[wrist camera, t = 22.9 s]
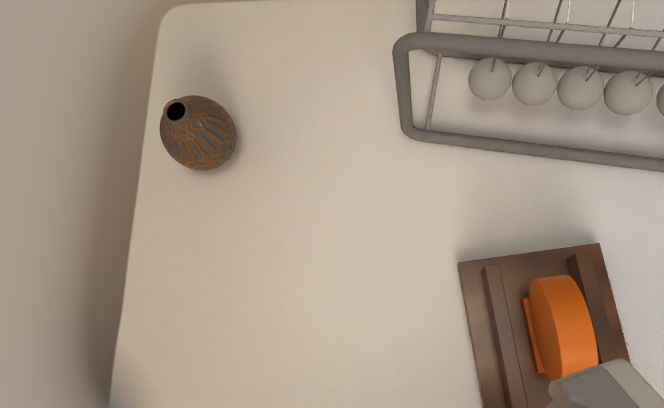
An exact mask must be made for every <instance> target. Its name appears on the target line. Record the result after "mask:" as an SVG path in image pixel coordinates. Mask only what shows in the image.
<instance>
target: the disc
mask: <svg viewBox="0 0 664 408" xmlns="http://www.w3.org/2000/svg"><path fill="white" fill-rule="evenodd" d="M521 305H522V310H523V315H524V319H525V324H526V329H527V334H528V338H529V343H530V348H531V353H532V357H533V362H534V367H535V371H536V372H537V373H544V372H546V374H547V376H548V378H549V380H550V382H552V381H553V380H556V379H559V378H562V377H564V376H567V375H570V374H573V373H576V372H578V371H581V370H584V369H587V368H590V367H592V366H597V365H598V352H597V344H596V338H595V333H594V329H593V324H592V321H591V317H590V314H589V311H588V308H587V305H586V302H585V300H584V297H583V295H582V293H581V291H580V289H579V287H578V285H577V284H576V282H575V281H574V280H573V279H572V278H571V277H570V276H568V275H560V276H552V277H545V278H537V279H533V280H532V282H531V284H530V292H529V297H528V298H523V299H521Z"/></svg>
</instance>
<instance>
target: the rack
mask: <svg viewBox="0 0 664 408" xmlns="http://www.w3.org/2000/svg"><path fill="white" fill-rule="evenodd" d="M457 266H458V271H459V277H460V282H461V288H462V293H463V299H464V304H465V310H466V315H467V321H468V326H469V332H470V337H471V343H472V348H473V354H474V359H475V365H476V370H477V376H478V381H479V387H480V392H481V398H482V403H483V408H547V406H548V404H549V403H550V402H551V401H552V397H551V396H550V395H549V393H548V389H549V384H550V383H551V382H550V380H549V378H548V376H547V374H546V372H544V373H537V372H536V371H535V367H534V362H533V357H532V353H531V348H530V343H529V338H528V334H527V329H526V324H525V319H524V315H523V310H522V305H521V299H523V298H528V297H529V292H530V284H531V282H532V280H533V279H537V278H545V277H552V276H560V275H568V276H570V277H571V278H572V279H573V280H574V281H575V282H576V284H577V285H578V287H579V289H580V291H581V293H582V295H583V297H584V300H585V302H586V305H587V308H588V311H589V314H590V317H591V321H592V324H593V329H594V333H595V338H596V344H597V352H598V365H600V364H603V363H606V362H608V361H611V360H614V359H624V360H626V361H628V362H629V363H630V359H629V355H628V351H627V347H626V343H625V340H624V336H623V332H622V328H621V324H620V320H619V316H618V313H617V309H616V305H615V301H614V297H613V293H612V290H611V286H610V282H609V278H608V274H607V270H606V267H605V263H604V259H603V255H602V251H601V247H600V244H599V243H596V244H589V245H581V246H574V247H567V248H560V249H553V250H545V251H538V252H531V253H524V254H517V255H509V256H502V257H495V258H488V259H481V260H474V261H466V262H459V263H458V265H457ZM630 364H631V363H630Z"/></svg>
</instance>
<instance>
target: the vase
mask: <svg viewBox="0 0 664 408" xmlns="http://www.w3.org/2000/svg"><path fill="white" fill-rule="evenodd" d="M160 136H161V139H162V142H163V145H164V147H165V149H166V150H167V152H168V153H169V154H170V155H171V157H172V158H174V159H175V160H176V161H177V162H179V163H180V164H182V165H184V166H186V167H188V168H191V169H195V170H209V169H213V168H216V167H218V166H220V165H222V164H223V163H224V162H226V161H227V160H228V159H229V157H230V156H231V154H232V153H233V151H234V148H235V144H236V130H235V126H234V123H233V121H232V119H231V117H230V116H229V114H228V113H227V111H226V110H225V109H224V108H223V107H222V106H221V105H219V104H218V103H217V102H215V101H213V100H211V99H209V98H206V97H203V96H196V95H191V96H185V97H182V98H179V99H174V100H171V101H170V102H168V103H167V104H166V106H165V108H164V111H163V115H162V118H161V122H160Z"/></svg>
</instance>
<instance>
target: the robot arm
mask: <svg viewBox="0 0 664 408" xmlns="http://www.w3.org/2000/svg"><path fill="white" fill-rule="evenodd" d="M548 393H549V395H550V396H551V397H552V401H551V402H550V403H549V404H548V406H547V408H664V399H663V398H662V397H661V396H660V395H659V394H658V393H657V392H656V390H655V389H654V388H653V387H652V386H651V385H650V384H649V383H648V382H647V381H646V380H645V379H644V378H643V377H642V376H641V375H640V374H639V373H638V371H637V370H636V369H635V368H634V367H633V366H632V365H631V364H630V363H629V362H628V361H626V360H624V359H614V360H611V361H608V362H606V363H603V364H600V365H597V366H592V367H590V368H587V369H584V370H581V371H578V372H576V373H573V374H570V375H567V376H564V377H562V378H559V379H556V380H553V381H552V382H551V383H550V384H549V389H548Z"/></svg>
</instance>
